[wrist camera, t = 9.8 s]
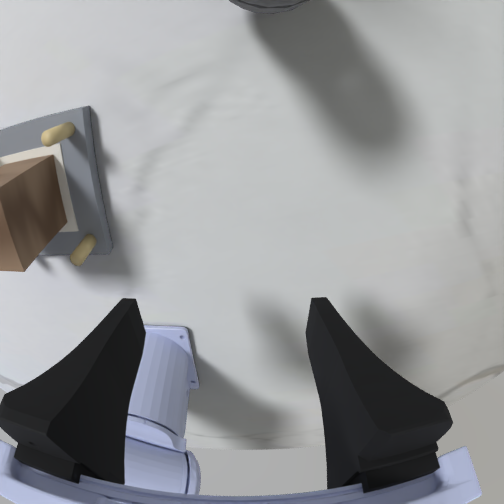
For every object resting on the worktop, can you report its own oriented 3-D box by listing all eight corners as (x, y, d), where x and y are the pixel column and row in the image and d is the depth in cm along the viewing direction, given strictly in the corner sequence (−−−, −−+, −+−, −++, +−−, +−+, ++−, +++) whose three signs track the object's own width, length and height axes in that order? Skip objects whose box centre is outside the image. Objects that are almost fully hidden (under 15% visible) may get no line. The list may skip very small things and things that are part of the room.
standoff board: (113, 246, 21) (96, 274, 18) (15, 249, 21) (-5, 272, 18) (89, 105, 16) (61, 114, 13) (-14, 135, 15) (-43, 148, 12)
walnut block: (67, 222, 19) (24, 271, 14) (19, 225, 19) (-25, 269, 14) (53, 154, 16) (-3, 189, 11) (4, 164, 16) (-50, 198, 11)
